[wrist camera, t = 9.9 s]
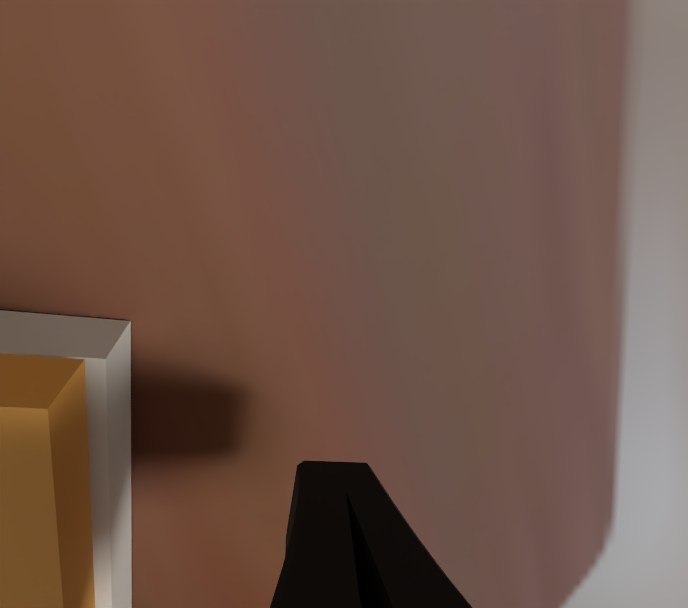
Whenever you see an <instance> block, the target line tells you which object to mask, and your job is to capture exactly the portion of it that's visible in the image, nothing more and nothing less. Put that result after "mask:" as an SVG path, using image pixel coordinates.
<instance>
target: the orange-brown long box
mask: <svg viewBox="0 0 688 608" xmlns="http://www.w3.org/2000/svg"><path fill="white" fill-rule="evenodd" d="M0 608H95V588H94V565H93V542H92V519H91V496H90V473H89V450H88V428H87V405H86V382H85V359H73V358H58V357H43V356H28V355H13V354H0Z"/></svg>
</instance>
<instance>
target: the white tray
mask: <svg viewBox="0 0 688 608" xmlns="http://www.w3.org/2000/svg"><path fill="white" fill-rule="evenodd" d="M0 354H13V355H28V356H43V357H58V358H73V359H85V382H86V405H87V428H88V450H89V473H90V496H91V519H92V542H93V565H94V588H95V608H132V567H131V321H124V320H112V319H100V318H88V317H76V316H64V315H52V314H40V313H28V312H16V311H4V310H0Z"/></svg>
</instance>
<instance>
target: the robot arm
mask: <svg viewBox="0 0 688 608" xmlns="http://www.w3.org/2000/svg"><path fill="white" fill-rule="evenodd" d="M270 608H472V607H471V605H470V604H469V603H468V602H467V600H466V599H465V598H464V597H463V596H462V594H461V593H460V592H459V591H458V589H457V588H456V587H455V586H454V585H453V583H452V582H451V581H450V579H449V578H448V577H447V576H446V574H445V573H444V572H443V570H442V569H441V568H440V567H439V565H438V564H437V563H436V561H435V560H434V559H433V557H432V556H431V555H430V553H429V552H428V551H427V549H426V548H425V546H424V545H423V544H422V542H421V541H420V540H419V538H418V537H417V536H416V534H415V533H414V531H413V530H412V529H411V527H410V526H409V524H408V523H407V522H406V520H405V519H404V517H403V516H402V514H401V513H400V511H399V510H398V508H397V507H396V506H395V504H394V503H393V501H392V500H391V498H390V497H389V495H388V494H387V492H386V491H385V489H384V487H383V486H382V484H381V483H380V481H379V480H378V478H377V477H376V475H375V474H374V472H373V471H372V469H371V468H370V466H369V465H368V464H367V463H354V462H325V461H303V462H302V463H300V464H299V465H297V471H296V477H295V483H294V490H293V496H292V502H291V509H290V515H289V521H288V528H287V534H286V553H285V560H284V564H283V567H282V571H281V574H280V577H279V580H278V584H277V587H276V590H275V593H274V597H273V600H272V603H271V606H270Z"/></svg>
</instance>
